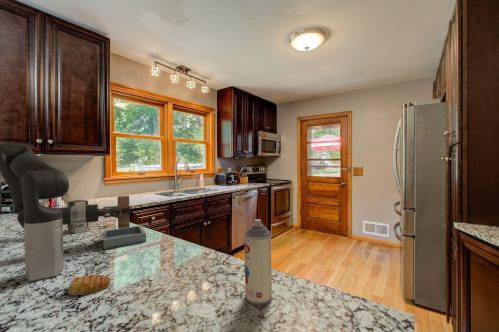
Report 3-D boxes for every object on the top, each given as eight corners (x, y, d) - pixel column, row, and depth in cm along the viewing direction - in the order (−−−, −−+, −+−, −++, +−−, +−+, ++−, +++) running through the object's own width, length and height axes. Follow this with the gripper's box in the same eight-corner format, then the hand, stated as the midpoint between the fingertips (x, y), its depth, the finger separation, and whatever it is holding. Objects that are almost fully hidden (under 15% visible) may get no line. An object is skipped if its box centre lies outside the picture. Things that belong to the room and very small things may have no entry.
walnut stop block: (129, 227, 103) (129, 196, 103) (118, 228, 101) (118, 197, 101) (128, 225, 107) (128, 195, 107) (117, 226, 105) (117, 196, 105)
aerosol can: (245, 290, 62) (244, 217, 62) (270, 289, 62) (269, 216, 62) (245, 305, 55) (243, 223, 55) (273, 305, 55) (272, 223, 55)
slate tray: (146, 242, 102) (145, 233, 102) (103, 250, 93) (103, 240, 93) (140, 233, 115) (140, 225, 115) (103, 239, 106) (103, 230, 106)
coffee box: (89, 230, 121) (88, 200, 121) (74, 233, 116) (74, 202, 116) (81, 228, 126) (80, 199, 126) (67, 231, 121) (66, 201, 121)
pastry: (113, 280, 68) (113, 268, 68) (106, 292, 62) (106, 279, 62) (76, 286, 66) (76, 273, 66) (65, 299, 59) (65, 285, 59)
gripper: (83, 207, 90) (132, 203, 100) (85, 202, 102) (128, 199, 111) (84, 226, 90) (132, 220, 100) (85, 219, 102) (128, 214, 112)
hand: (130, 209), depth 105 cm, fingers closed on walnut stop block, 4 cm apart
